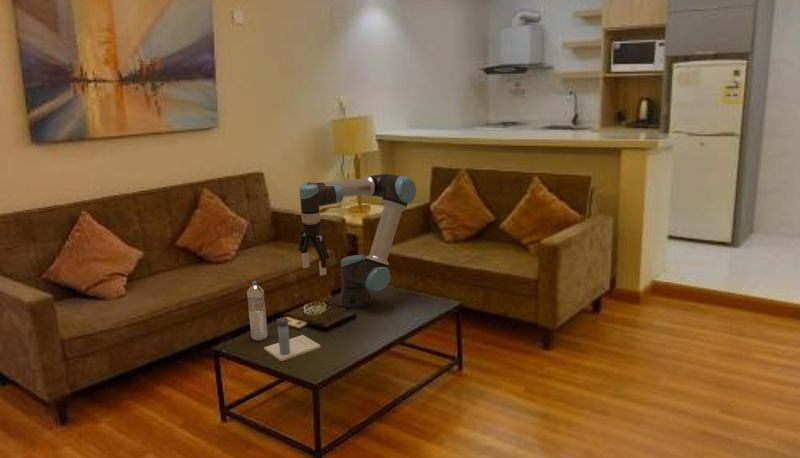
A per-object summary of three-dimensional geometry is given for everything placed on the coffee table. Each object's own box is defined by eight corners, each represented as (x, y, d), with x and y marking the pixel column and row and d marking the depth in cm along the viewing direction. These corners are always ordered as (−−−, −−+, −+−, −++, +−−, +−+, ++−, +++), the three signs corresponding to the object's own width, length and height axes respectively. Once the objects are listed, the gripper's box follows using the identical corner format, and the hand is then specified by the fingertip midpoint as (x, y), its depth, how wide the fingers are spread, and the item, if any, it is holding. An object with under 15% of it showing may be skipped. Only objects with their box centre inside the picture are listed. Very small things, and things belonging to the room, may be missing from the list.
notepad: (302, 337, 264) (302, 334, 264) (320, 347, 254) (320, 345, 253) (264, 349, 253) (264, 347, 253) (281, 361, 243) (280, 358, 242)
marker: (287, 349, 251) (284, 316, 247) (292, 352, 248) (289, 319, 244) (277, 352, 248) (274, 319, 245) (283, 355, 245) (280, 322, 242)
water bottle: (251, 342, 261) (246, 285, 254) (251, 335, 267) (245, 280, 261) (268, 339, 262) (263, 283, 256) (267, 333, 269) (262, 278, 263)
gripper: (288, 218, 266) (292, 266, 272) (319, 229, 247) (322, 280, 253) (303, 215, 271) (307, 262, 276) (335, 225, 252) (338, 275, 257)
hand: (314, 271), depth 264 cm, fingers open, 13 cm apart
